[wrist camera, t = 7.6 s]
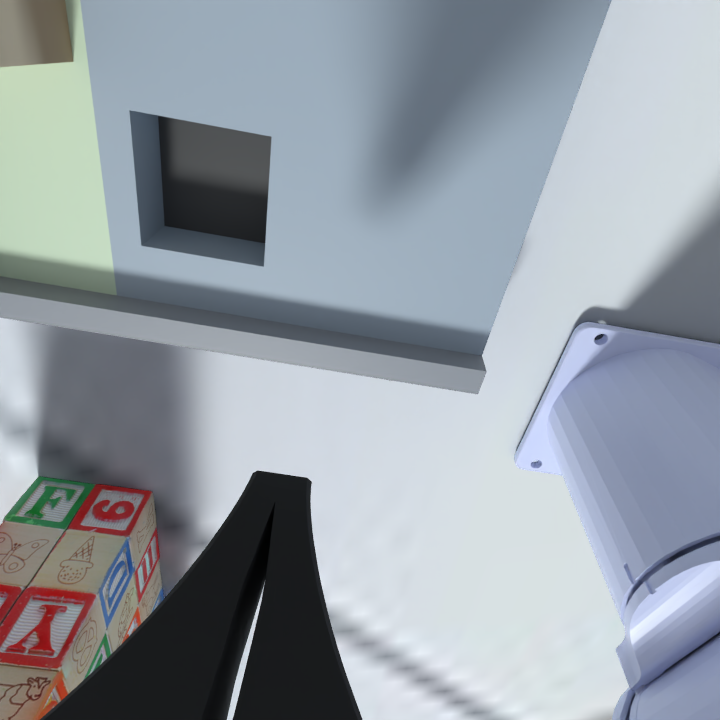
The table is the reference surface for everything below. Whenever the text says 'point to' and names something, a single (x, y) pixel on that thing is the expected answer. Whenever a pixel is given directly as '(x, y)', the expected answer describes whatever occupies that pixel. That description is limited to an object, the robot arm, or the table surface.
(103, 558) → the stack of blocks
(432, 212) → the box
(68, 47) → the maple block
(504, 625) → the table surface
